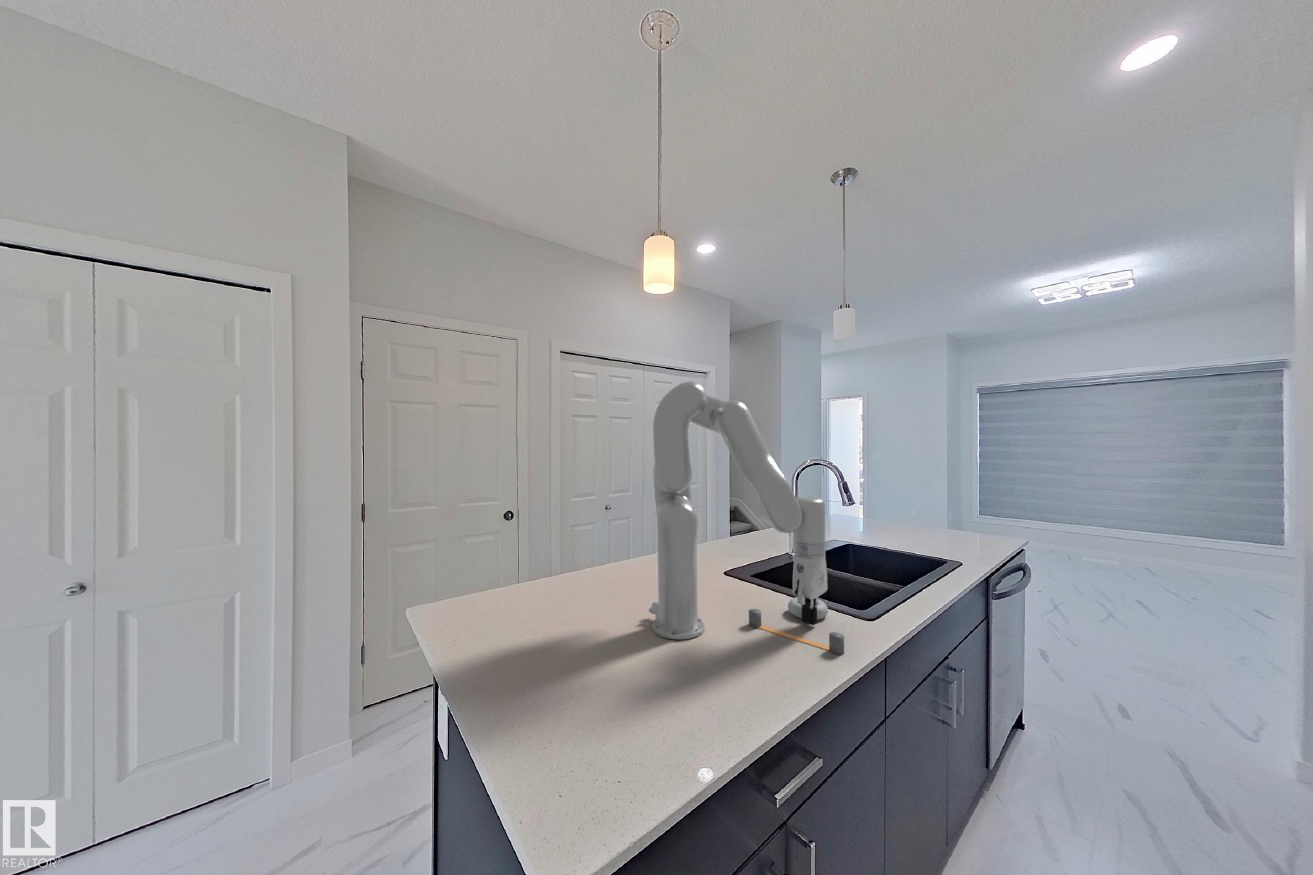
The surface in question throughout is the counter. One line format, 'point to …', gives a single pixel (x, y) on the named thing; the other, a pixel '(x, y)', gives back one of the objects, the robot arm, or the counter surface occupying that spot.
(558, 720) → the counter surface
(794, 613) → the donut
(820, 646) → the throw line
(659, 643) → the counter surface
